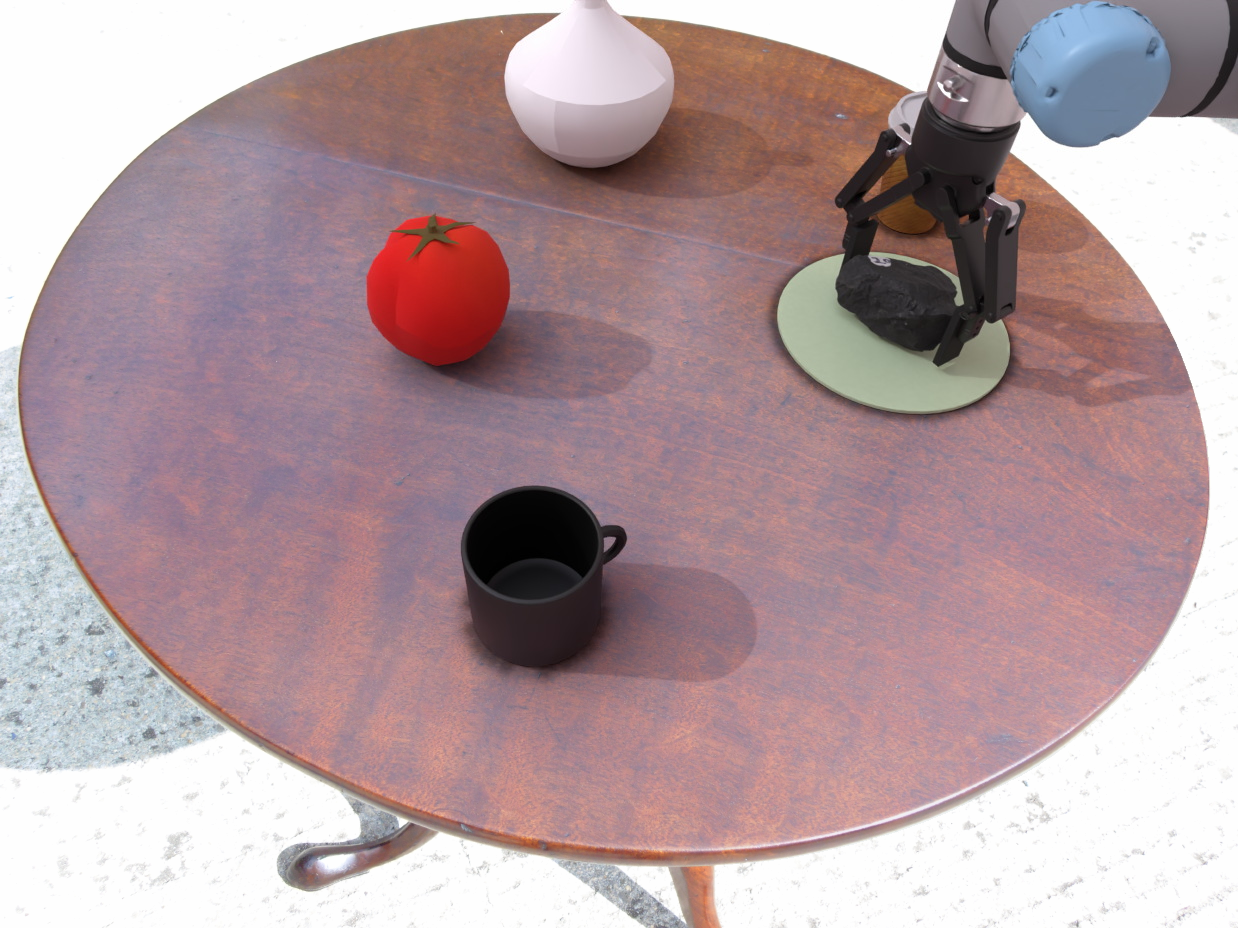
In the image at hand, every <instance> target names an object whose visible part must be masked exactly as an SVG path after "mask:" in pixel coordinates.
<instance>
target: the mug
mask: <svg viewBox="0 0 1238 928" xmlns="http://www.w3.org/2000/svg"><path fill="white" fill-rule="evenodd" d="M606 538H615V540H614V541H613V543H612V544H611V546H610V547H609V548H608V549H607V550H605V539H606ZM627 542H628V535H627V532H626V530H625V528H624V527H623V526H621V525H618V524H606V525H601V523H600V521H599V519H598V517H597V516H596V514H595V513H594V512H593V511H592V509H591V508H590V507H589V506H588V505H587V504H586V503H585V502H584V501H583V500H581V499H580V498H578V497H577V496H575V495H574V494H572V493H570V492H568V491H566V490H563V489H560V488H557V487H552V486H549V485H548V486H547V485H538V484H537V485H536V484H535V485H522V486H517V487H513V488H508V489H505V490H503V491H501V492H499V493H497V494H495V495H493V496H492V497H490V498H488V499H486V500H485V501H484V502H483V503H482V504H481V505H479V506H478V507H477V508H476V510H474V512H473V513H472V514H471V515H470V517H469V519H468V521H467V522H466V524H465V527H464V529H463V531H462V535H461V540H460V557H461V564H462V568H463V574H464V580H465V587H466V592H467V598H468V606H469V610H470V617H471V621H472V627H473V628H474V631H475V633H476V635H477V637H478V639H479V640H480V641H481V643H482V644H483V645H484V646H485V647H486V649H487V650H489V651H490V652H491V653H493V655H496V656H497V657H499V658H500V659H502V660H504V661H507V662H509V663H512V664H515V665H519V666H524V667H543V666H544V667H545V666H549V665H554V664H556V663H557V664H558V663H560V662H562V661H564V660H566V659H568V658H570V657H572V656H574V655H575V654H576V653H578V652H579V651H581V650H582V649H583V647H585V646H586V645H587V643H588V642H589V641H590V640H591V638H592V637H593V635H594V634H595V632H596V629H597V628H598V625H599V622H600V618H601V609H602V595H603V594H602V593H603V575H604V574H603V573H604V566H605V565H607V564H608V563H610V562H611V561H613V560H614V559H616V557H618V556H619V554H620V553H622V552H623V550H624V549H625V546H626V544H627Z"/></svg>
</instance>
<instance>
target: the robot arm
mask: <svg viewBox="0 0 1238 928" xmlns="http://www.w3.org/2000/svg"><path fill="white" fill-rule="evenodd" d="M926 91H927V97H926V98H925V99H924V101H923V103H922V106H921V109H920V112H919V115H918V118H917V121H916V124H915V127H914V131H913V134H912V136H911V135H910V132H911V129H910V126H909V125H908V124H907V123H902V124H900V125H897V126H895V127H892V128H890V129H889V128H887V129H884V130H882V131H881V132H880V133H879V136H878V139H877V142H876V144H875V148H874V150H873V152H871V154H870V156H869V157H868V158H867V159H866V160H865V161H864V162H863V164H862V165H861V166H860V167H859V168H858V170H857V171H856V172H855V173H854V174H853V175H852V177H851V178H850V179H849V180H848V181H847V183H846V184H845V185H844V187H842V188H841V190H840V191H839V192H838V194H837V195H836V196H835V198H834V204H835V206H836V208H838V209H843V211H844V212H845V213H846V221H847V223H846V227H845V230H844V234H843V238H842V241H841V246H842V248H843V249H844V254H845V255H844V258H843V261H842V265H841V268H842V267H843V266H844V265H845V264H846V263H847V262H848V261H849V260H850V259H852V258H853V257H854V256H856V255H862V256H865V255H869V253H870V252H871V249H872V247H873V243H874V240H875V237H876V233H877V231H878V227H879V224H880V222H879V221H877V219H875V218H872V217H873V216H875V215H876V216H877V214H878V213H879V212H881V211H882V210H884V209H886V208H888V207H890V206H892V205H893V204H895V203H897V202H899V201H901V200H903V199H904V198H906V197H908V196H910V195H912V196H913V198H914V200H915V202H914V204H915V205H917V206H918V207H920V208H921V209H924V210H927V211H928V212H929V213H930V214H931V215H932V216H933V217H934V218H935V219H936V221H937V222H939V223H940V224H942V223H943V229H944V233H945V237H946V238H947V239H949V240H950V241H951V246H952V251H953V256H954V260H955V265H956V270H957V271H956V272H957V275H958V276H957V277H959V281H960V286H961V291H962V296H963V301H964V304H963V305H961V306H959V307H957V308H955V311H954V313H953V315H952V317H951V320H950V322H949V324H948V327H947V329H946V331H945V334H944V336H943V338H942V341H941V343H940V345H939V348H938V350H937V352H936V354H935V357H934V359H933V361H932V362H933V363H934V364H935V365H936V366H937V367H939V366H941V365H943V364H945V363H947V362H949V361H950V360H952V359H954V358H956V357H958V356H959V354H960V352H961V350H962V348H963V346H964V344H965V343H966V342H968V341H970V340H971V339H973V338H975V337H976V336H978V335H979V332H980V330H981V328H982V326H983V324H984V322H985V320H986V321H987V322H988V323H990V324H993V323H995V322H997V321H999V320H1000V319H1001V320H1003V319H1004V318H1006V317H1008V316H1010V315H1011V314H1013V313H1015V311H1016V307H1017V286H1018V283H1017V282H1018V259H1019V258H1018V256H1019V234H1020V233H1019V232H1020V226H1021V223H1022V221H1023V219H1024V215H1025V213H1026V210H1027V204H1026V202H1025V200H1023V199H1021V198H1016V199H1015V200H1014V199H1013V200H1012V201H1011V200H1009V199H1007V198H1005V197H1003V196H1002V195H1000V194H999V193H997V188H996V185H997V184H996V183H997V177H998V175H999V173H1000V172H1001V170H1002V169H1003V167H1004V166H1005V164H1006V162H1007V160H1008V157H1009V155H1010V153H1011V150H1012V149H1013V145H1014V143H1015V141H1016V139H1017V136H1018V135H1019V134H1018V133H1019V132H1020V128H1021V125H1022V124H1021V121H1022V120H1023V119H1024V118H1025V117H1026V115H1027V114H1028V115H1029V117H1030V118H1031V120H1032V121H1033V122H1034V124H1035V126H1036V127H1037V128H1038V129H1039V131H1040V132H1041V133H1042V134H1043V135H1044V136H1045V137H1046V138H1048V139H1049V140H1050V141H1052V142H1054V143H1056V144H1058V145H1061V146H1065V147H1069V148H1076V149H1077V148H1079V149H1080V148H1091V147H1096V146H1099V145H1100V144H1101V143H1103V142H1106V141H1108V140H1111V139H1115V138H1117V139H1118V138H1121V137H1123V136H1125V135H1127V134H1128V133H1130V132H1131V131H1133V130H1134V129H1136V128H1138V127H1139V126H1140V125H1141V124H1142V123H1143V122H1144V121H1145V120H1147V119H1148V118H1181V119H1183V118H1188V117H1189V118H1210V119H1232V120H1238V0H955V1H954V4H953V7H952V11H951V14H950V17H949V20H948V23H947V26H946V31H945V33H944V36H943V39H942V42H941V45H940V48H939V52H938V54H937V57H936V60H935V64H934V66H933V70H932V74H931V76H930V79H929V83H928V86H927V89H926ZM904 154H905V162H906V168H907V173H908V178H906V179H904V180H902V181H901V182H899V183H897V184H896V185H894V186H892V187H891V188H890V189H888V190H886V191H884V192H883V193H881V194H880V193H879V194H878V195H876V196H874V197H872V198H871V199H869V200H867V201H865V200H864V197H866V195H867V194H868V193H869V192H870V191H871V190H872V188H873V187H874V186H875V185H876V184H877V183H878V182H879V181H880V179H882V177H883V175H884V174H885V172H886V171H887V170H888V169H889V168H890V167H891V166H892V165H893V163H894V162H895V161H896V160H897V159H898V158H899V157H900V156H902V155H904ZM984 209H985V210H986V215H985V210H984ZM966 216H968V219H967V220H966V221H965V222H962V223H961V222H960V219H963V218H964V217H966ZM870 218H871V219H870ZM986 226H987V228H986V232H985V233H986V234H984V228H985V227H986ZM841 268H840V271H841ZM839 273H840V272H839Z"/></svg>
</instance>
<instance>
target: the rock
mask: <svg viewBox="0 0 1238 928" xmlns="http://www.w3.org/2000/svg"><path fill="white" fill-rule="evenodd" d="M835 289H836V291H837V294H838V296H837V301H838V303H839V305H840V306H841V307H843V308H845V309H846V310H848V311H849V312H852V313H854V314H856V315H857V317H858V318H859V320H860V321H861V322H862V323H863V324H864V325H866V326H867V327H868V329H869V330H870V331H872V332H873V333H875V334H876V335H878V336H880V337H885V338H886V339H888V340H890V341H892V342H894V343H896V344H898V345H900V346H902V347H904V348H907V349H909V350H913V351H919V352H923V351H932V350H934V349H935V348H936V347H937V346H938V344H940V343H941V341H942V338H943V336H944V334H945V331H946V329H947V327H948V324H949V322H950V320H951V317H952V315H953V313H954V311H955V308H957V307H959V306H957V305H956V303H955V300H954V298H955V297H956V295H957V293H958V292H957V291H956V289H957V288H956V286H955V284H954V283H953V282H952V280H951V279H950V278H949V277H948V276H947V275H946V274H944V273H943V272H942V271H941V270H939V269H938V268H936V267H934V266H931V265H929V266H921V265H914V264H911V263H909V262H906V261H903V260H897V259H893V258H887V257H878V256H871V255H865V256H862V255H856V256H854V257H853V258H852V259H850V260H849V261H848V262H847V263H846V264H845V265H844V266H843V267H842V268H841V271H840V273H839V275H838V277H837V279H836V283H835Z"/></svg>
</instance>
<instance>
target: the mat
mask: <svg viewBox="0 0 1238 928" xmlns="http://www.w3.org/2000/svg"><path fill="white" fill-rule="evenodd" d="M844 255H845V253H842V254H835V255H832V256H827V257H825V258H822V259H820V260H816V261H815V262H813V263H811V264H809V265H806V267H804V268H803V269H801V270H800V271H799V272H797V273H796V274H795V275H794V276H793V277H792V278H791V279H790V280H789V281H788V283H787V284H786V286H785V287H784V288H783V290H782V293H781V295H780V297H779V301H778V305H777V309H776V310H777V311H776V312H777V313H776V319H777V320H776V322H777V327H778V332H779V335H780V337H781V341H782V342H783V344H784V347H785V348H786V349H787V352H788V353H789V354H790V356H791V357H792V358H793V360H794V361H795V362H796V364H797V365H798V366H800V368H801V369H802V370H803V371H804V372H805V373H806V374H807V375H809V376H810V377H811V378H813V380H815V381H816V382H817V383H819V384H820V385H822V386H824V387H825V388H827V389H828V390H830V391H832V392H833V393H835V394H837V395H839V396H841V397H842V398H845V399H848V400H850V401H852V402H855V403H857V404H860V405H863V406H867V407H869V408H873V409H876V410H881V411H886V412H891V413H899V414H907V415H928V414H929V415H930V414H940V413H946V412H950V411H955V410H958V409H961V408H964V407H968V406H969V405H971V404H973V403H975V402H978V401H980V400H981V399H982V398H984V397H985V396H986V395H988V394H989V393H990V392H991V391H992V390H994V388H996V387H997V386H998V384H999V383H1000V381H1001V380H1002V378H1003V377H1004V375H1005V372H1006V370H1007V368H1008V366H1009V361H1010V356H1011V344H1010V339H1009V334H1008V331H1007V328H1006V326H1005V324H1004V321H1003V319H1000V320H999V321H997V322H995V323H993V324H990V323H988V322H987V321H986V320H985V322H984V324H983V326H982V328H981V330H980V332H979V335H978V336H976V337H975V338H973V339H971V340H970V341H968V342H966V343H965V344H964V346H963V348H962V350H961V352H960V354H959V356H958V357H956V358H954V359H952V360H950V361H949V362H947V363H945V364H943V365H941V366H939V367H937V366H936V365H935V364H934V363H933V362H932V361H933V359H934V357H935V354H936V352H937V350H938V348H939V345H940V344H938V346H937V347H936V348H935V349H934V350H932V351H923V352H919V351H913V350H909V349H907V348H904V347H902V346H900V345H898V344H896V343H894V342H892V341H890V340H888V339H886V338H885V337H880V336H878V335H876V334H875V333H873V332H872V331H870V330H869V329H868V327H867V326H866V325H864V324H863V323H862V322H861V321H860V320H859V318H858V317H857V315H856V314H854V313H852V312H849V311H848V310H846V309H845V308H843V307H841V306H840V305H839V303H838V301H837V296H838V294H837V291H836V289H835V283H836V279H837V277H838V275H839V272H840V268H841V265H842V261H843V258H844ZM869 255H871V256H878V257H887V258H893V259H897V260H903V261H906V262H909V263H911V264H914V265H921V266H929V265H931V266H934V267H936V268H938V269H939V270H941V271H942V272H943V273H944V274H946V275H947V276H948V277H949V278H950V279H951V280H952V282H953V283H954V284H955V286H956V288H957V289H956V291H957V292H958V293H957V295H956V297H955V298H954V300H955V303H956V305H957V306H961V305H963V304H964V301H963V296H962V291H961V286H960V281H959V276H957V275H956V274H954V273H951V272H950V271H948V270H947V269H944V268H941V267H940V266H937V265H935V264H932V263H929V262H926V261H925V260H921V259H917V258H914V257H910V256H908V255H907V256H906V255H901V254H895V253H889V252H881V251H880V252H879V251H870V253H869Z"/></svg>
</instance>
